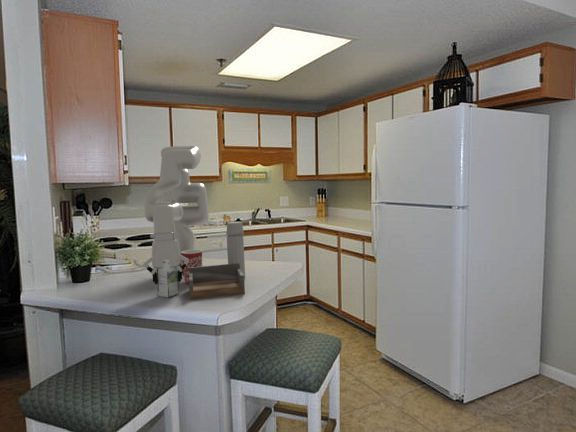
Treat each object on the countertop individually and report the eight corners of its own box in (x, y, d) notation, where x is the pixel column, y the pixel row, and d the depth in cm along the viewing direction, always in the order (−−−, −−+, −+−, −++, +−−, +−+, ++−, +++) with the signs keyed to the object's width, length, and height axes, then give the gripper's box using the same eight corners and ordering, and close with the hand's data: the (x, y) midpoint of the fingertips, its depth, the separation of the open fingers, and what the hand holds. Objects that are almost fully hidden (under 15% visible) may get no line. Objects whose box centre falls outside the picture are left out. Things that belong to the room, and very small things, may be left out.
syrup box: (169, 292, 154) (166, 255, 153) (179, 294, 151) (177, 256, 150) (157, 296, 149) (154, 258, 148) (168, 298, 146) (166, 259, 145)
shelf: (190, 289, 157) (189, 267, 156) (240, 284, 161) (239, 263, 160) (190, 299, 143) (188, 275, 142) (244, 293, 148) (243, 270, 147)
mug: (208, 280, 170) (207, 249, 169) (194, 285, 162) (192, 253, 161) (186, 278, 176) (185, 248, 175) (172, 283, 168) (170, 252, 167)
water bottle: (243, 282, 165) (240, 223, 162) (225, 282, 166) (222, 223, 164) (249, 277, 174) (247, 220, 171) (232, 276, 175) (230, 221, 173)
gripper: (139, 240, 142) (142, 287, 144) (188, 236, 146) (191, 282, 148) (141, 237, 149) (145, 282, 151) (188, 234, 154) (191, 278, 155)
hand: (167, 282), depth 149 cm, fingers closed on syrup box, 8 cm apart
